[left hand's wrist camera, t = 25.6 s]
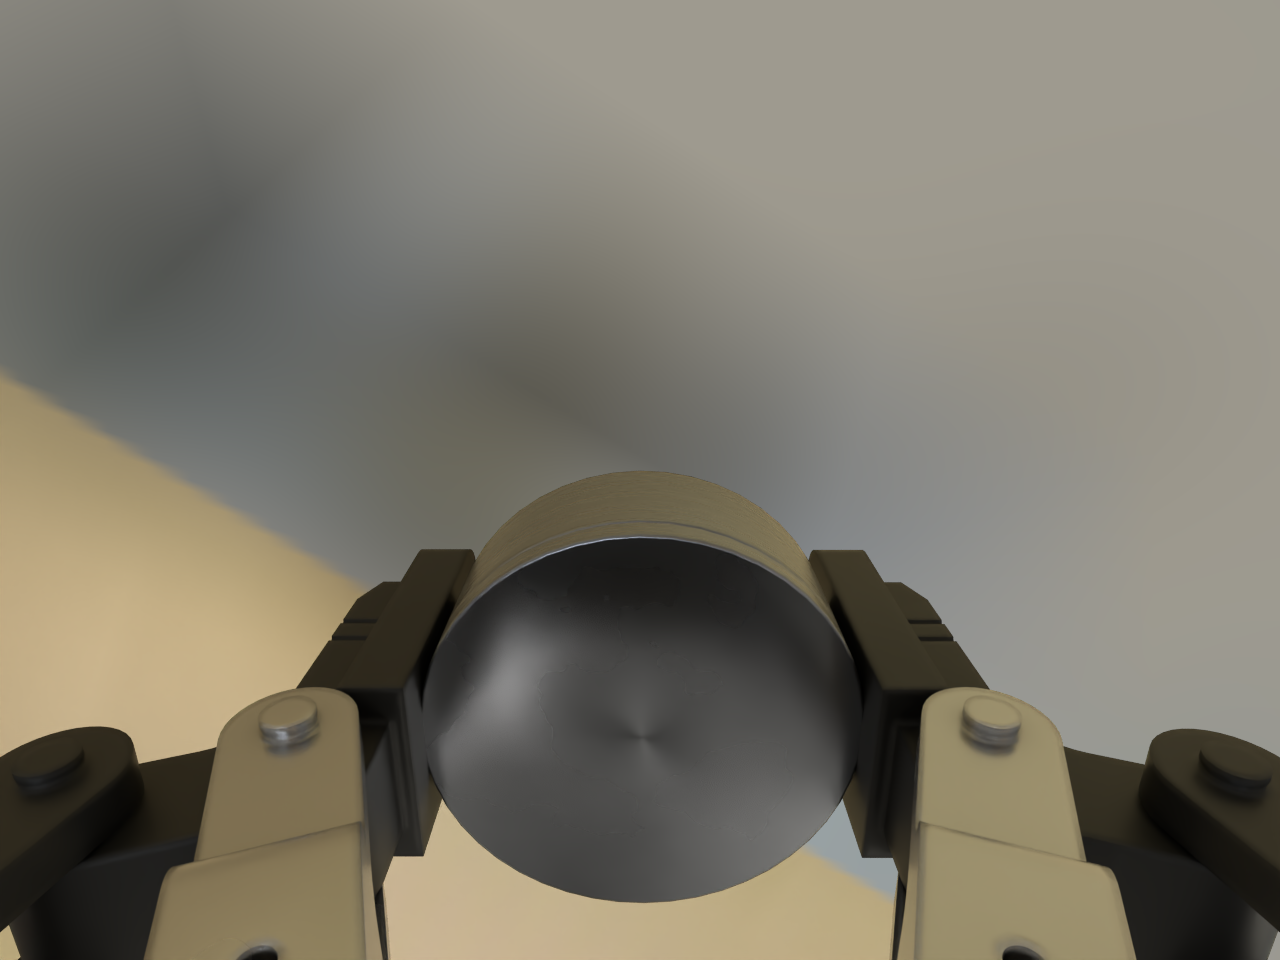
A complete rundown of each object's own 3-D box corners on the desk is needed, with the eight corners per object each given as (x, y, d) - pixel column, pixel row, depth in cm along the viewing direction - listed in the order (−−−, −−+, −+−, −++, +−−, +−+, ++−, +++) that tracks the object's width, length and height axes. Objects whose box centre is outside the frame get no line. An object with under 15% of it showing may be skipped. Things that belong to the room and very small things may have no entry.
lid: (893, 549, 10) (947, 629, 8) (734, 830, 12) (752, 949, 10) (527, 410, 10) (499, 464, 8) (412, 727, 11) (368, 834, 9)
